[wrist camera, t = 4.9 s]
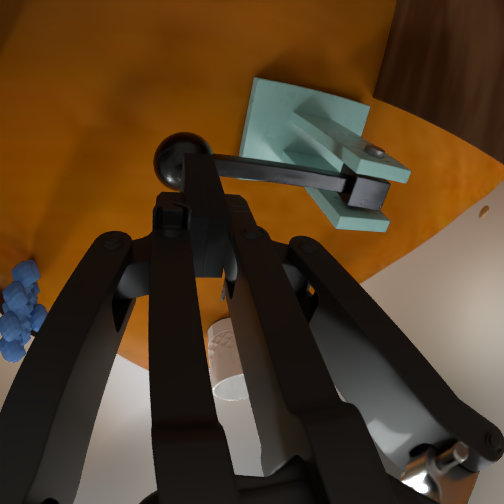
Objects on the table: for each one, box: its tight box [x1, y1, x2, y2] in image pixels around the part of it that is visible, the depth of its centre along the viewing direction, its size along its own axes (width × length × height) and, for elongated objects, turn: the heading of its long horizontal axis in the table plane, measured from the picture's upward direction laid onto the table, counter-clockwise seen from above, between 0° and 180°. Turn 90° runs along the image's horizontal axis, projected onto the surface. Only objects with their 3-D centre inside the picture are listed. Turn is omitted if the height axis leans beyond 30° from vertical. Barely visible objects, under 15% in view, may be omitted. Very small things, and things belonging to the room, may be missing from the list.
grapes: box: [0, 260, 48, 363], centre depth 28 cm, size 12×7×12 cm, turn 149°
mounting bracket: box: [238, 77, 411, 232], centre depth 24 cm, size 12×10×14 cm
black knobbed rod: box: [153, 132, 390, 211], centre depth 19 cm, size 15×4×4 cm, turn 79°
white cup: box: [207, 318, 249, 400], centre depth 42 cm, size 8×8×10 cm
